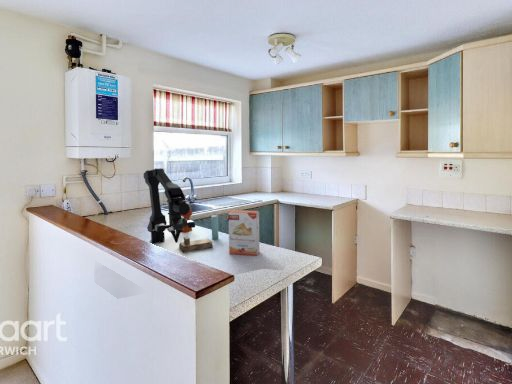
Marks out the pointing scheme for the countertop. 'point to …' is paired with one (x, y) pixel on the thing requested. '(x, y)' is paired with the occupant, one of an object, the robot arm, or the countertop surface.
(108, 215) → the countertop surface
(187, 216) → the toy drill
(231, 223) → the cracker box
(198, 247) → the wooden frame piece
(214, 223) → the teal cylinder
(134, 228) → the countertop surface
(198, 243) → the lid
